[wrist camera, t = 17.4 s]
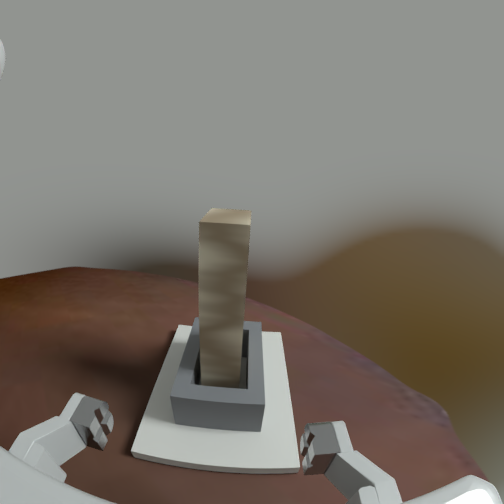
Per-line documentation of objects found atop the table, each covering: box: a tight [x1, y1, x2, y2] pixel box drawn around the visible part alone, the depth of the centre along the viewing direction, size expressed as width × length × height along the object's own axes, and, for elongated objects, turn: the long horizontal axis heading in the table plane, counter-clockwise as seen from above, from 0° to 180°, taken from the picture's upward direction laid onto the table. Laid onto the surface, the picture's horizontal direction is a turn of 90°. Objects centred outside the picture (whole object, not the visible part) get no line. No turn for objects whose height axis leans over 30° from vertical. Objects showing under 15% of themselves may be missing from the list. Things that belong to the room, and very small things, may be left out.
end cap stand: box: [131, 317, 300, 474], centre depth 23 cm, size 12×18×4 cm, turn 0°
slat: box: [199, 208, 251, 389], centre depth 21 cm, size 3×5×15 cm, turn 0°
